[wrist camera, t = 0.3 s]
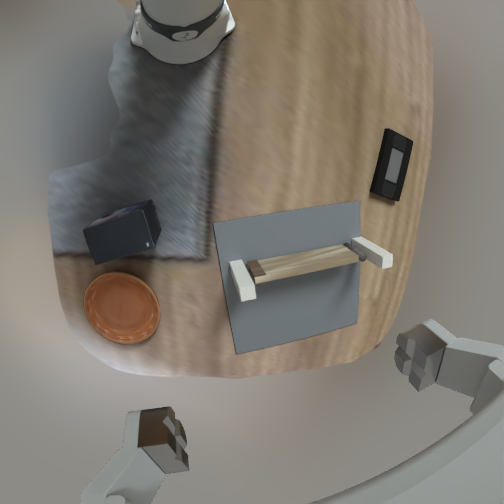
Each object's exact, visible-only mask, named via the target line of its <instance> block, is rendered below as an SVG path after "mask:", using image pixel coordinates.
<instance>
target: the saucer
mask: <svg viewBox="0 0 504 504" xmlns="http://www.w3.org/2000/svg"><path fill="white" fill-rule="evenodd" d="M84 310H85V314H86V317H87V319H88V321H89V322H90V324H91V325H92V327H93V328H94V329H95V330H96V331H97V332H98V333H99V334H100V335H102V336H103V337H105V338H106V339H108V340H110V341H113V342H116V343H120V344H134V343H138V342H141V341H143V340H145V339H147V338H148V337H150V336H151V335H152V334H153V333H154V331H155V330H156V328H157V326H158V324H159V321H160V306H159V302H158V299H157V297H156V295H155V293H154V291H153V290H152V289H151V287H150V286H149V285H148V284H147V283H146V282H144V281H143V280H142V279H140V278H138V277H136V276H134V275H132V274H129V273H125V272H108V273H105V274H102V275H100V276H99V277H97V278H96V279H95V280H93V281H92V282H91V283H90V285H89V286H88V288H87V290H86V292H85V295H84Z"/></svg>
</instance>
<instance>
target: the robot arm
mask: <svg viewBox="0 0 504 504" xmlns="http://www.w3.org/2000/svg"><path fill="white" fill-rule="evenodd" d="M136 5H138V7H137V10H136V11H135V20H134V25H133V30H132V35H131V42H132V43H133V44H134V45H136V46H139V47H142V48H145V49H146V50H147V51H148V52H149V53H150V54H151V55H153V56H154V57H155V58H157V59H159V60H161V61H163V62H166V63H171V64H187V63H192V62H195V61H198V60H200V59H202V58H204V57H206V56H207V55H209V54H210V53H211V52H212V51H213V50H214V49H215V48H216V47H217V46H218V44H219V42H220V41H221V39H222V38H223V37H224V36H226V35H227V34H229V33H230V32H232V31H233V30H234V28H235V22H234V20H233V17H232V15H231V12H230V10H229V7H228V5H227V2H226V0H136ZM137 32H138V34H137ZM396 343H397V344H398V345H399V347H398V348H397V350H396V351H395V363H396V366H397V368H398V370H399V371H400V372H401V373H402V374H404V375H408V376H409V382H410V383H411V384H412V385H413V386H414V388H415V389H416V390H417V391H418V392H419V391H421V390H423V389H424V388H426V387H428V386H429V385H432V384H433V383H435V382H436V383H437V384H439V385H441V386H444V387H447V388H449V389H452V390H454V391H457V392H460V393H463V394H465V395H468V396H471V397H474V400H473V402H472V404H471V406H470V411H471V412H472V413H473V414H474V415H473V416H472V417H470V418H469V419H468V420H466V421H465V422H464V423H462V424H461V425H460V426H458V427H457V428H456V429H454V430H453V431H451V432H450V433H449V434H447V435H446V436H444V437H443V438H441V439H440V440H438V441H437V442H435V443H434V444H432V445H431V446H429V447H428V448H426V449H424V450H423V451H421V452H419V453H418V454H416V455H415V456H413V457H411V458H409V459H408V460H406V461H404V462H402V463H401V464H399V465H397V466H395V467H393V468H391V469H389V470H388V471H385V472H384V473H382V474H380V475H378V476H375V477H373V478H371V479H369V480H367V481H365V482H363V483H361V484H358V485H356V486H354V487H351V488H349V489H346V490H344V491H342V492H339V493H337V494H334V495H332V496H329V497H326V498H323V499H321V500H318V501H315V502H312V503H309V504H504V346H502V345H498V344H492V343H487V342H481V341H476V340H470V339H465V338H459V339H457V338H456V337H455V336H453V335H452V334H451V333H450V332H448V331H447V330H446V329H445V328H443V327H442V326H441V325H439V324H438V323H437V322H435V321H434V320H433V319H428V320H426V321H424V322H422V323H420V324H419V325H416V326H414V327H412V328H410V329H408V330H406V331H404V332H402V333H400V334H399V335H398V337H397V342H396ZM186 446H187V440H186V435H185V431H184V428H183V426H182V424H181V422H180V421H179V420H177V419H175V412H174V411H173V409H172V408H171V407H162V408H154V409H147V410H140V411H131V412H128V414H127V416H126V421H125V429H124V437H123V446H122V449H119V450H118V451H117V452H116V453H115V454H114V455H113V457H112V458H111V459H110V460H109V461H108V463H107V464H106V465H105V466H104V467H103V468H102V470H101V471H100V472H99V473H98V474H97V476H96V477H95V478H94V479H93V480H92V482H91V483H90V484H89V485H88V486H87V487H86V488H85V490H84V491H83V492H82V497H81V504H151V502H152V500H153V498H154V497H155V495H156V493H157V491H158V489H159V488H160V486H161V484H162V482H163V480H164V478H165V477H166V474H170V473H176V472H183V471H189V464H188V455H187V453H186V452H185V451H184V448H185V447H186Z"/></svg>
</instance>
